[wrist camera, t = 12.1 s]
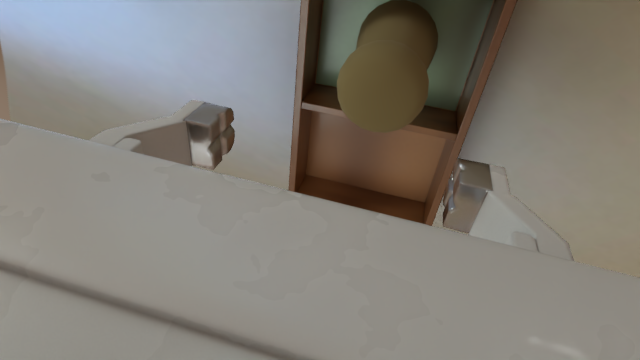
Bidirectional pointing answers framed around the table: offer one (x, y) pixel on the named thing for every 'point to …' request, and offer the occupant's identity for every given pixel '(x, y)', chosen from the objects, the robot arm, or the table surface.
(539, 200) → the table surface
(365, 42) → the olive pawn
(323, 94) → the tray
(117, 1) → the table surface
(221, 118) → the robot arm
